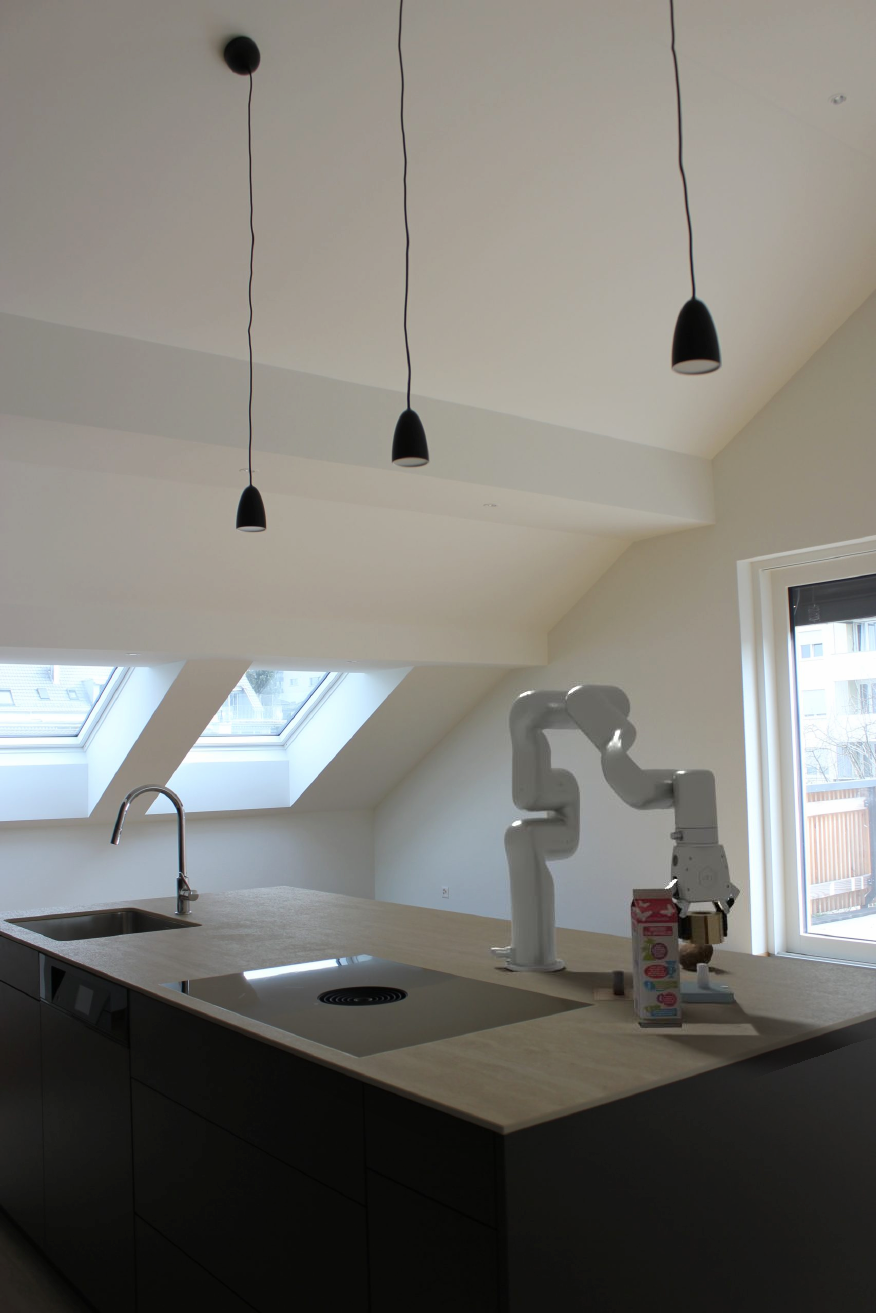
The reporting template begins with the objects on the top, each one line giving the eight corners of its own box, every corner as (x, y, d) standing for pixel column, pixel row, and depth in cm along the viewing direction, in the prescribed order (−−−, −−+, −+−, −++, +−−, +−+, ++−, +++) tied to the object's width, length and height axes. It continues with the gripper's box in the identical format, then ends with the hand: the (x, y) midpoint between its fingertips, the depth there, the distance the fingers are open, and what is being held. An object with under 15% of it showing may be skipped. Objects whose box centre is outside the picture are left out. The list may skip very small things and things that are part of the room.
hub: (681, 1010, 177) (680, 969, 178) (675, 998, 186) (674, 959, 187) (734, 1010, 176) (732, 969, 177) (725, 998, 185) (724, 959, 186)
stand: (595, 1008, 180) (594, 976, 180) (593, 996, 189) (592, 966, 189) (646, 1008, 179) (645, 976, 179) (642, 997, 188) (641, 966, 188)
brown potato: (718, 948, 217) (703, 926, 216) (725, 970, 210) (709, 947, 208) (685, 965, 219) (670, 943, 218) (691, 987, 211) (675, 964, 210)
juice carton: (634, 1017, 173) (629, 886, 175) (674, 1017, 172) (668, 886, 175) (641, 1027, 166) (636, 891, 168) (682, 1027, 166) (676, 890, 168)
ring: (697, 945, 178) (695, 916, 178) (675, 940, 184) (674, 912, 185) (731, 942, 180) (729, 913, 180) (708, 937, 186) (707, 909, 187)
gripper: (666, 840, 178) (671, 944, 176) (750, 836, 183) (756, 936, 181) (644, 838, 185) (649, 938, 183) (725, 834, 191) (731, 931, 188)
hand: (702, 936), depth 182 cm, fingers closed on ring, 7 cm apart
